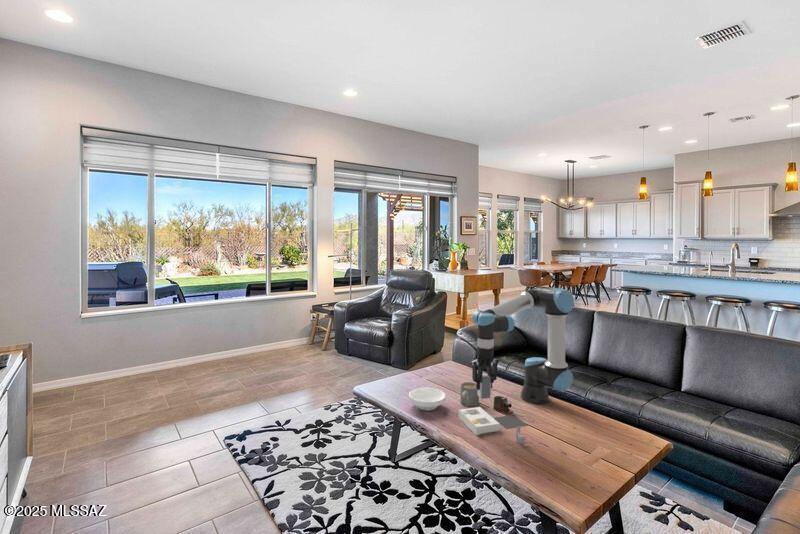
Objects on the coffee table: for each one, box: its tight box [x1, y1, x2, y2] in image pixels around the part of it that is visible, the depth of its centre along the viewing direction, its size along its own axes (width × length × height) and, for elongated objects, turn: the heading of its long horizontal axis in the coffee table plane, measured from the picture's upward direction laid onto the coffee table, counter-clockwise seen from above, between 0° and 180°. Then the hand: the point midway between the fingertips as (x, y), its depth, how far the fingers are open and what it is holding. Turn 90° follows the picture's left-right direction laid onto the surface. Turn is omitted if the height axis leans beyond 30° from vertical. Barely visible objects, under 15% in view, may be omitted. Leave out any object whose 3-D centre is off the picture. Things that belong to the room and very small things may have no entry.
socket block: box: [457, 406, 501, 436], centre depth 193 cm, size 12×19×4 cm, turn 17°
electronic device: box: [492, 395, 514, 415], centre depth 207 cm, size 4×10×8 cm, turn 44°
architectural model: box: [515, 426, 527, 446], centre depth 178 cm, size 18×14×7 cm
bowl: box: [408, 387, 446, 411], centre depth 211 cm, size 20×20×7 cm
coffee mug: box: [459, 381, 480, 408], centre depth 216 cm, size 13×10×10 cm
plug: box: [480, 373, 491, 400], centre depth 186 cm, size 4×4×11 cm
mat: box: [493, 414, 528, 430], centre depth 195 cm, size 12×12×1 cm
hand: (484, 395), depth 187 cm, fingers closed on plug, 4 cm apart
